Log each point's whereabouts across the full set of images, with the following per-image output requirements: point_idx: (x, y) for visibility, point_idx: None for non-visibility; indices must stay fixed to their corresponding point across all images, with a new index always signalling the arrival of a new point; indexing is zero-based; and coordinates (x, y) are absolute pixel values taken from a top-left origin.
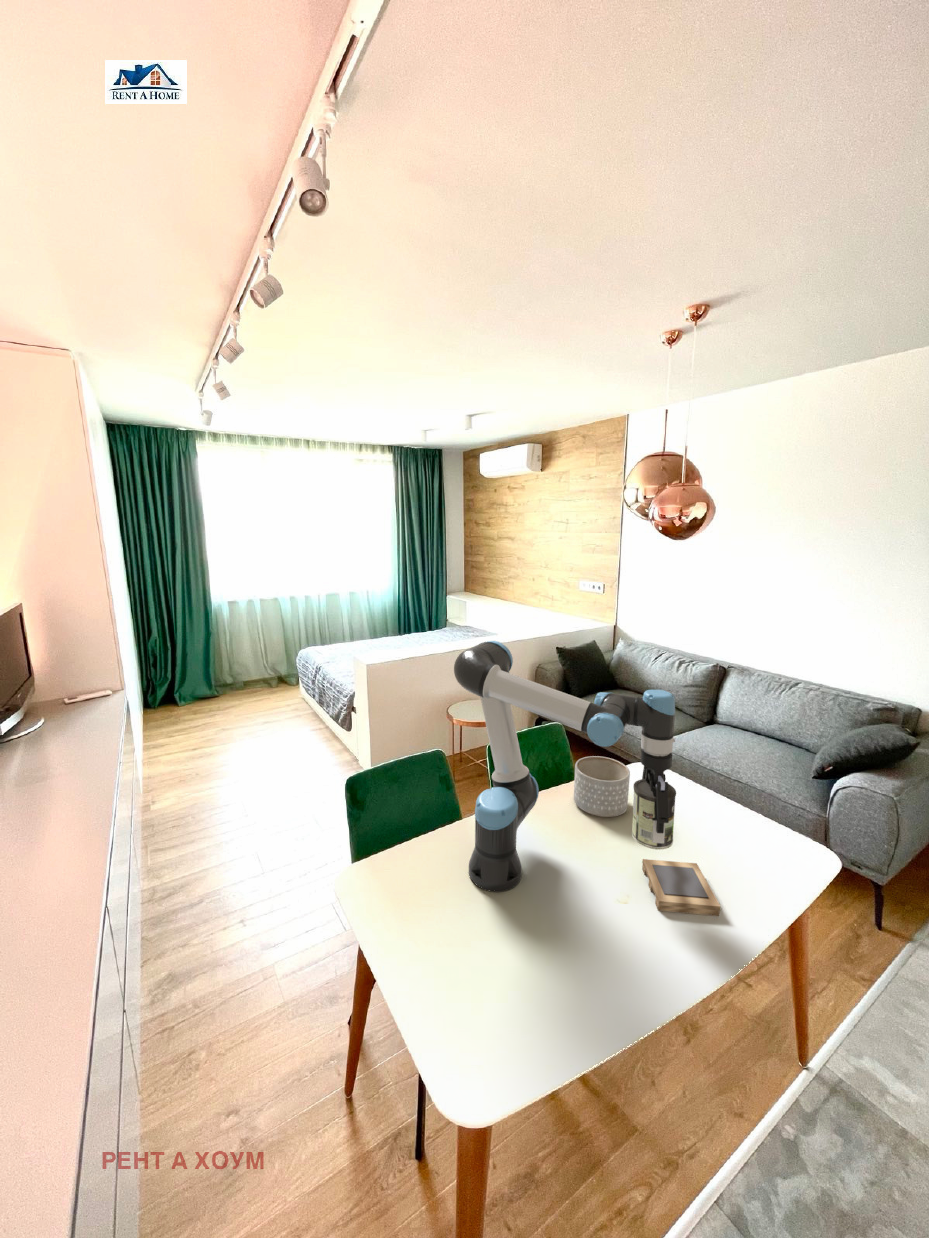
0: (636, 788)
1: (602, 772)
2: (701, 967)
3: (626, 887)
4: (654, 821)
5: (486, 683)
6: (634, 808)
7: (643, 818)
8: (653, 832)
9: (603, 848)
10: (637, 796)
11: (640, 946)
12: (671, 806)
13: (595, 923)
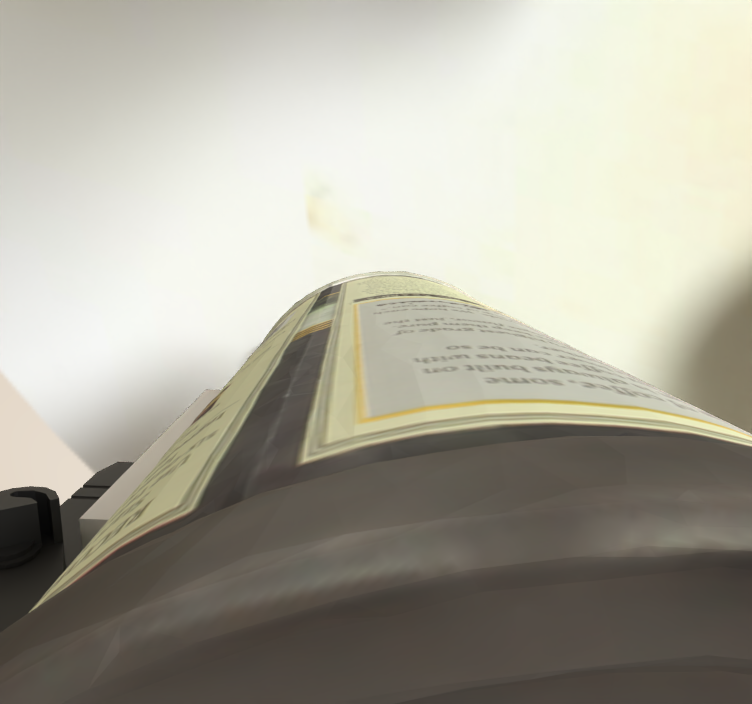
0: (605, 602)
1: None
2: (69, 388)
3: (395, 246)
4: (101, 503)
5: None
6: (407, 311)
7: (229, 382)
8: (169, 428)
9: (634, 208)
10: (308, 438)
11: (108, 216)
12: None
13: (185, 58)
